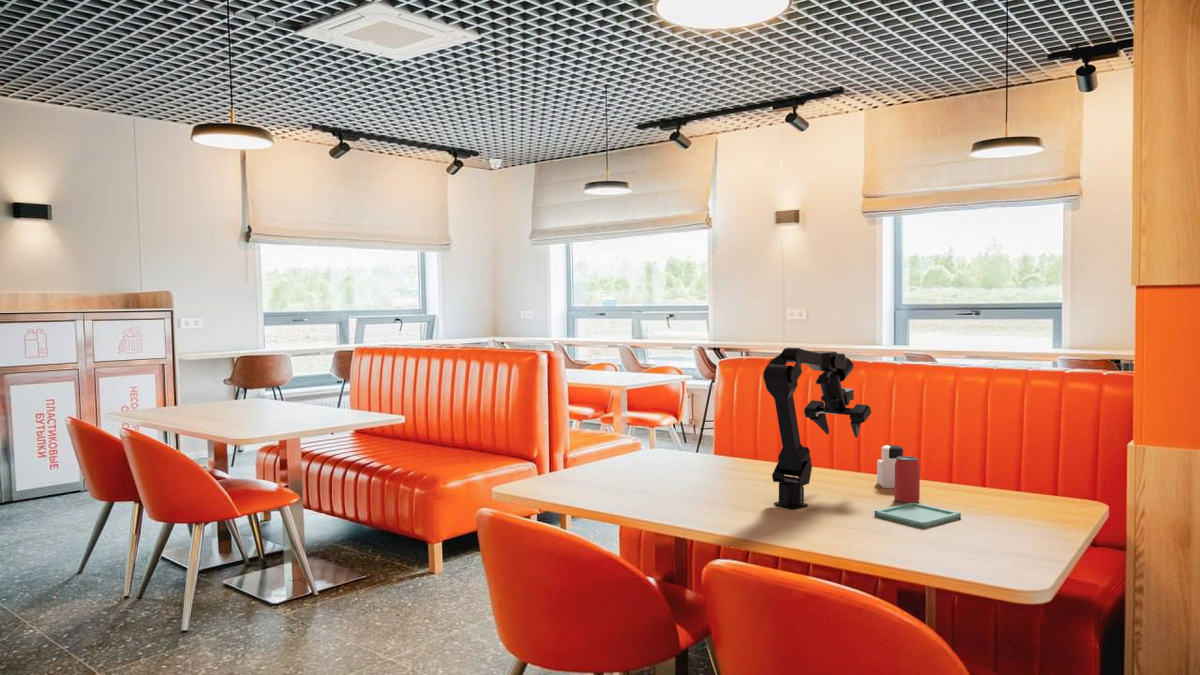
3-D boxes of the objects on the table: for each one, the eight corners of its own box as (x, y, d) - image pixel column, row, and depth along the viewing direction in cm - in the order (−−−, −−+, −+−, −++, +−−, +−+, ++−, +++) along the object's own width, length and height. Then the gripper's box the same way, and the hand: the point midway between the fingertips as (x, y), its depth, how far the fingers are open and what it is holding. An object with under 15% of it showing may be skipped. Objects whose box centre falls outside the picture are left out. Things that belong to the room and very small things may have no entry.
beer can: (921, 504, 222) (922, 460, 221) (896, 503, 223) (896, 459, 223) (917, 498, 228) (917, 456, 228) (892, 497, 230) (893, 455, 229)
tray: (923, 528, 198) (923, 522, 198) (874, 516, 210) (874, 510, 210) (960, 518, 207) (960, 513, 207) (911, 507, 219) (911, 502, 219)
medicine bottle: (901, 483, 248) (901, 444, 247) (907, 488, 241) (908, 448, 240) (876, 482, 249) (877, 443, 248) (882, 488, 242) (883, 447, 241)
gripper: (873, 378, 236) (883, 423, 241) (814, 374, 248) (825, 417, 254) (858, 398, 229) (868, 444, 234) (798, 393, 241) (809, 437, 247)
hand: (842, 435), depth 243 cm, fingers open, 9 cm apart
